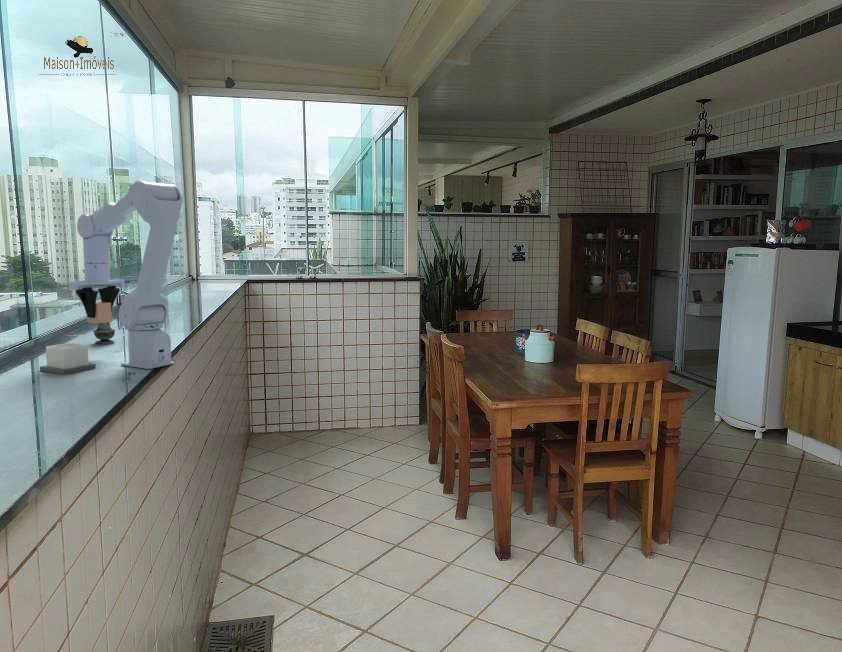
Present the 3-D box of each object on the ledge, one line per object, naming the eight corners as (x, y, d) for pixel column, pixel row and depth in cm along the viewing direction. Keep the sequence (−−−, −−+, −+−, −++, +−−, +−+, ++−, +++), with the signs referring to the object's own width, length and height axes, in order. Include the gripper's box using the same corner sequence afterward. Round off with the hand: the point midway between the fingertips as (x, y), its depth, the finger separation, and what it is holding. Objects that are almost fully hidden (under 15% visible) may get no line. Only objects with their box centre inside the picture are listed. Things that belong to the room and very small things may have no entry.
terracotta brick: (111, 321, 159) (110, 302, 158) (98, 323, 155) (97, 303, 154) (100, 320, 160) (100, 301, 160) (87, 322, 157) (86, 302, 156)
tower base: (95, 368, 144) (94, 344, 143) (63, 374, 137) (62, 350, 136) (72, 364, 147) (71, 341, 147) (40, 370, 140) (38, 346, 139)
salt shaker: (120, 341, 181) (118, 301, 179) (108, 344, 175) (106, 303, 173) (101, 340, 181) (99, 300, 180) (88, 344, 175) (86, 302, 174)
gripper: (110, 262, 164) (112, 312, 166) (59, 263, 151) (62, 318, 153) (129, 263, 161) (131, 314, 163) (79, 264, 148) (81, 320, 150)
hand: (99, 316), depth 157 cm, fingers closed on terracotta brick, 4 cm apart
